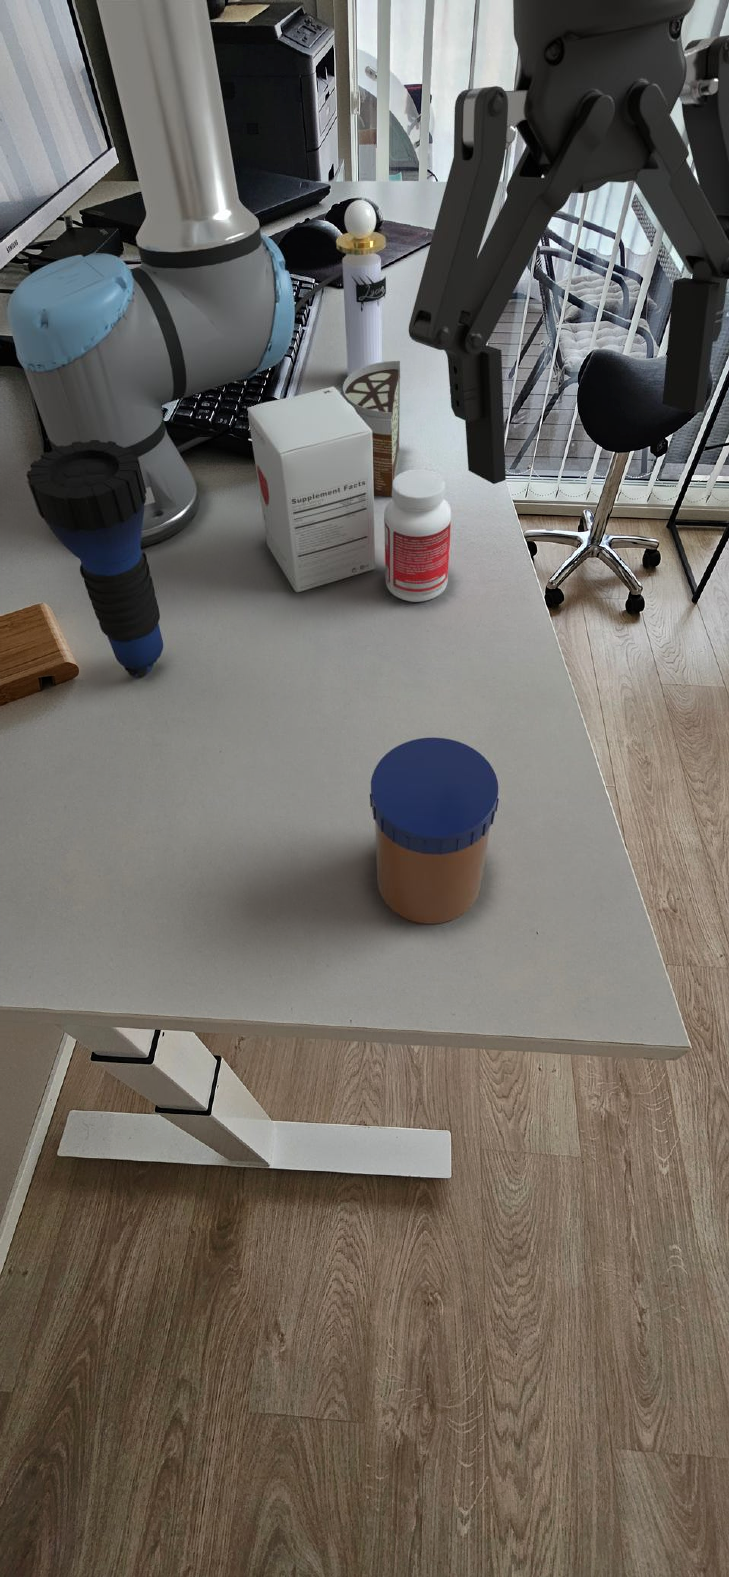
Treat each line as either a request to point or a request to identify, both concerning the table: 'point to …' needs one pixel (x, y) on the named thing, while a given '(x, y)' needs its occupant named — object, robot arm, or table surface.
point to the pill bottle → (417, 536)
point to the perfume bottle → (362, 285)
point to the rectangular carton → (315, 486)
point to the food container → (378, 416)
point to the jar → (429, 880)
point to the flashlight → (104, 540)
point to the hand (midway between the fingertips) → (588, 441)
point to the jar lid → (434, 795)
